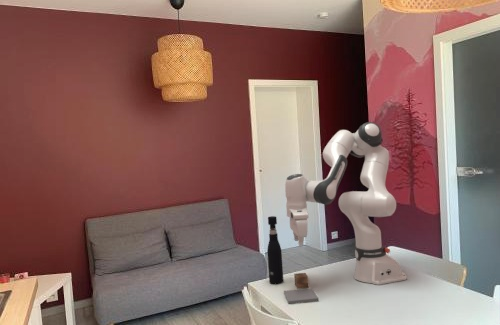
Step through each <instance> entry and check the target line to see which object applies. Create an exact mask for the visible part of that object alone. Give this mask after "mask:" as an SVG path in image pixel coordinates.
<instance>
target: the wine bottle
mask: <svg viewBox="0 0 500 325" xmlns="http://www.w3.org/2000/svg"><path fill="white" fill-rule="evenodd" d="M277 220H278V218H277V216H276V215H275V216H274V215H272V216H268V217H267V221H268V222H267V223H268V226H269V234H268V236H269V238H268V239H269V241H268V244H267V267H268V279H269V284H271V285H280V284H283V283H284V271H283V270H284V269H283V268H284V267H283V255H282V253H283V252H282V247H281V244H280V241H279V238H278V232H277V229H276V228H277V227H276V225H277V224H278V221H277Z"/></svg>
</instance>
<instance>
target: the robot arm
mask: <svg viewBox="0 0 500 325" xmlns="http://www.w3.org/2000/svg"><path fill="white" fill-rule="evenodd" d="M382 143H383V137H382V130H381V128H380V126H379V125H378V124H377V123H375V122H373V121H367V122H365V123H363V124H361V125H360V126H359V127H358V129H357V130H356V132H353V133H352V132H351V131H349V130H348V129H339V130H338V131H337V132H336V133H335V134H334V135H332V137H331V139H330V140H329V141H328V142H327V144H326V146H324V148H323V152H322V158H323V160H324V162H325V163H326V164H327V165H328V166H329V167H331V168H330V171H329V173H328V175H327V176H326V178H324V179H322V180H314V179H313V180H311V179H310V178H308V177H305V176H304V174H302V173H297V174H296V173H295V174H291V175H289V176H288V177H287V178H286V180H285V184H284V186H285V197H286V198H285V199H286V205H285V206H286V217H288V218H289V228H290V230H291V231H292V234H293V240H294V241H295V242H298V243H297V244H298V246H299V247H303V246H304V241H305V238H307V236H308V219H309V213H308V207H307V206H308V203H307V202H311V203H318V204H320V205H325V206H326V205H330V204H332V202H333V201H334V200H335V199H336V196H337V191H338V189H339V188H338V187H339V185H340V183H341V181H342V179H343V176H344V174H345V171H346V169H347V166H348V159H347V158H348V156H349V154H350V155H351V156H353V157H356V158H359V159H361V158H364V162H363V165H362V168H361V172H360V177H359V179H360V182H361V184H362V185H363V186H365V187H366V188H367V189H368V190H367V191H357V190H355V191H354V190H352V191H345V192H343V193H342V194H341V195H340V196H339V198H338V207H339V209H340V211H341V213H343V214H344V215H345V216H346V217H347V218H348V219H349V222H350V223H351V225H352V227H353V232H354V237H355V246H354V249H355V250H354V253H355V254H354V255H355V259H356V262H355V271H354V275H353V277H354V279H355V280H357V281H359V282H362V283H369V284H374V285H377V286H378V285H384V284H390V283H396V282H400V281H406V280H408V276H407V274H406V273H405V272H403V271H402V269H401V266H400V264H399V263H398V261H397V260H396V259H394V258H392V257H391V256H389V255H388V254H390V252H391V249H390V248H388V247H385V246H383V245H382V232H381V231H382V230H381V229H380V227H379V226H378V225H376V224H375V223H373V222H372V221H371V219H370V218H369V217H372V218H373V217H374V218H384V217H391V216H393V214H395V212H396V210H397V200H396V199H395V196H393V194H392V193H391V192H389V191H388V189H387V187H386V180H387V173H388V169H389V164H390V152H389V151H388V149H387V148H386V147H384V146H382Z"/></svg>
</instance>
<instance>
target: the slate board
mask: <svg viewBox="0 0 500 325" xmlns="http://www.w3.org/2000/svg"><path fill="white" fill-rule="evenodd" d="M283 294H284V297H285V299H286V301H287V304H288V305H294V304H305V303H312V302H313V303H314V302H319V300H320V299H319V297H318V295H317V293H315V290H313V288H312V287H309V288H300V289H297V288H296V289H289V290H283Z"/></svg>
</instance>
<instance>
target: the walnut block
mask: <svg viewBox="0 0 500 325" xmlns="http://www.w3.org/2000/svg"><path fill="white" fill-rule="evenodd" d="M293 276H294V286H295V287H296V290H297V289H307V288H310V287H309V276H308V274H307V273H306V272H299V273H294V274H293Z"/></svg>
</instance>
